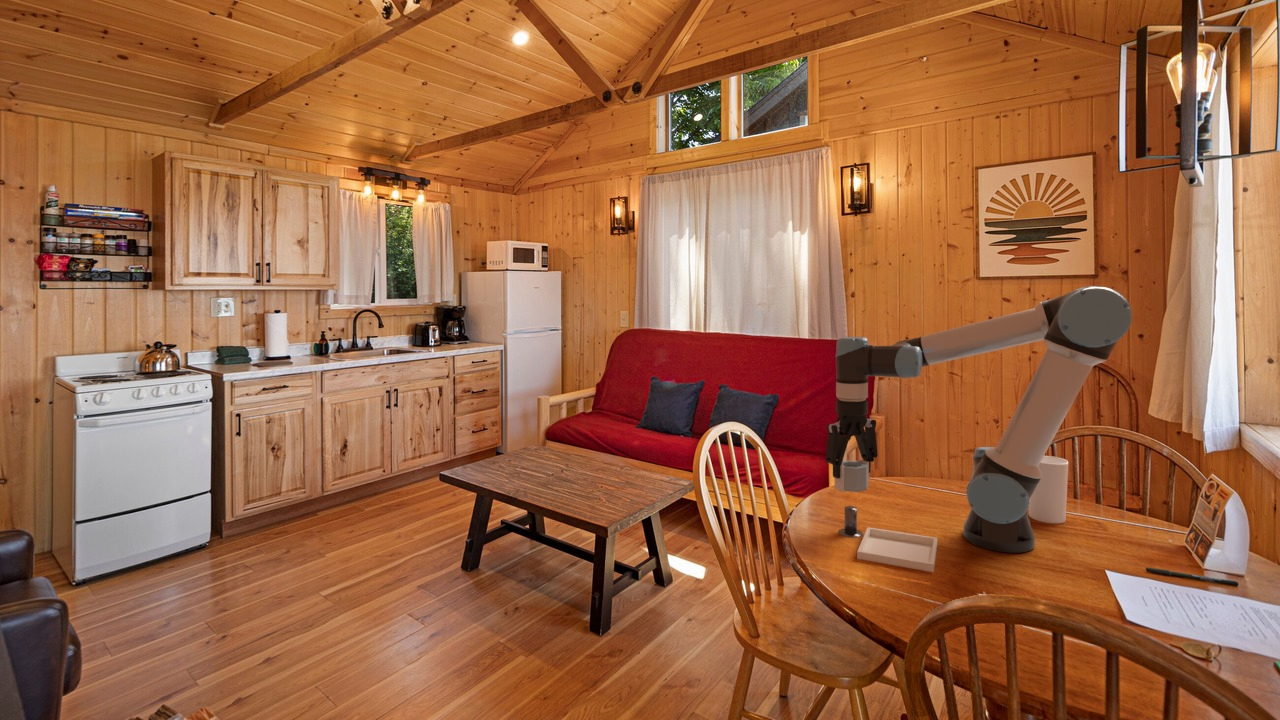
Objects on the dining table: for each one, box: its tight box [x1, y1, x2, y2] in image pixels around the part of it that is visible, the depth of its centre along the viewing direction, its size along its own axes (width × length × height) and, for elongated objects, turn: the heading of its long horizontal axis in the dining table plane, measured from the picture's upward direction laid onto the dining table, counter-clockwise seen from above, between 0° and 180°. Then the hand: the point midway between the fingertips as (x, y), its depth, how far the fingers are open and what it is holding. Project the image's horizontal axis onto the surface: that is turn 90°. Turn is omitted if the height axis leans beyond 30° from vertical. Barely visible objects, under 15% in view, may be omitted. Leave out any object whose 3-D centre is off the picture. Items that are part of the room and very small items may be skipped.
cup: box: [1028, 455, 1069, 524], centre depth 162 cm, size 8×8×16 cm
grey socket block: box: [842, 459, 868, 493], centre depth 154 cm, size 9×7×6 cm
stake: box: [838, 505, 864, 539], centre depth 155 cm, size 6×6×7 cm
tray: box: [856, 526, 938, 574], centre depth 143 cm, size 16×16×2 cm
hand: (851, 487), depth 154 cm, fingers closed on grey socket block, 7 cm apart
